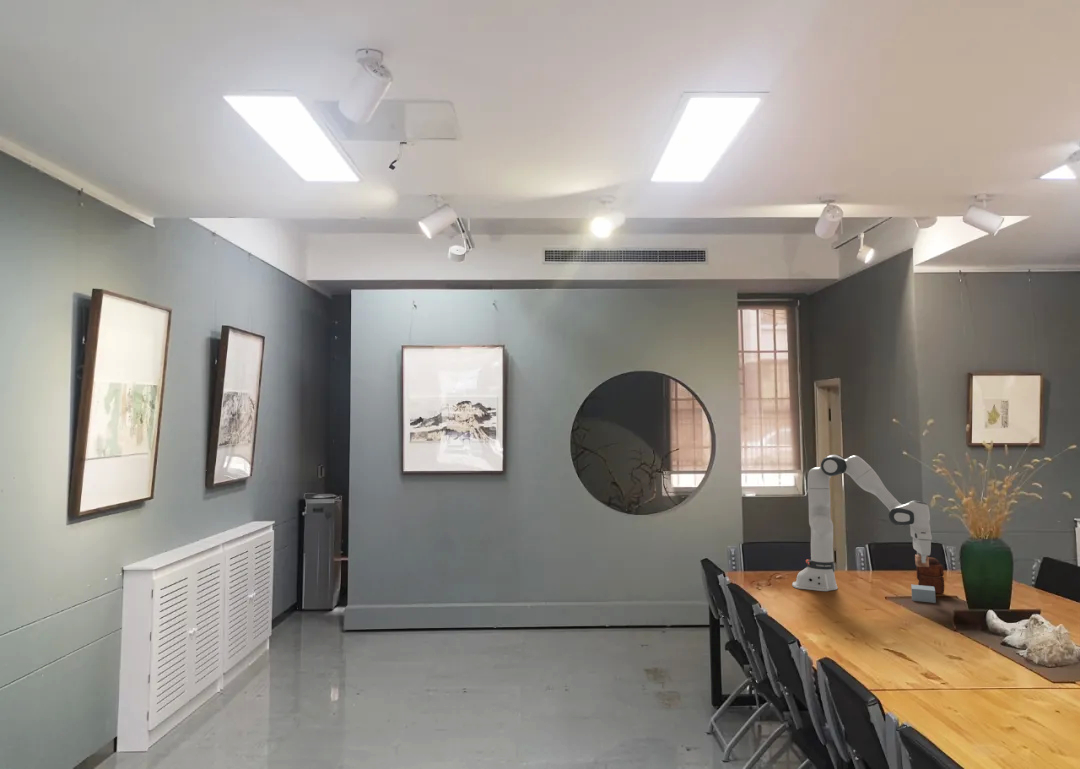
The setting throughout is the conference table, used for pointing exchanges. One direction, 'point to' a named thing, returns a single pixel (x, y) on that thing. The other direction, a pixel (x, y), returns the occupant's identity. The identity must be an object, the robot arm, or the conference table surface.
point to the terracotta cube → (920, 564)
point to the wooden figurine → (932, 575)
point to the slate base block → (923, 593)
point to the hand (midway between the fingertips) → (921, 561)
